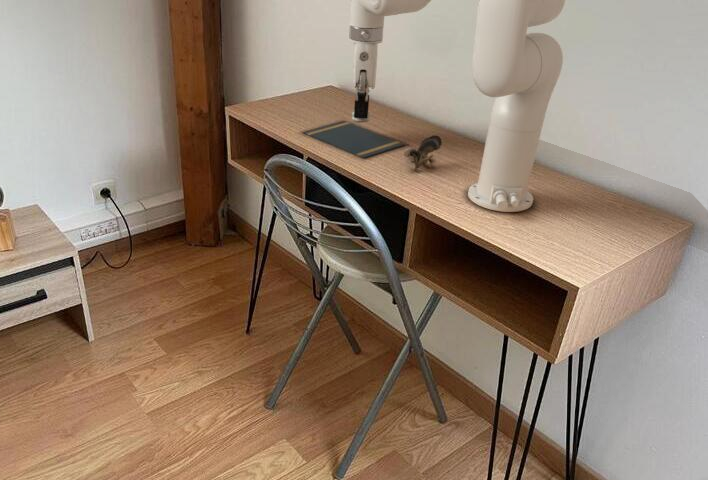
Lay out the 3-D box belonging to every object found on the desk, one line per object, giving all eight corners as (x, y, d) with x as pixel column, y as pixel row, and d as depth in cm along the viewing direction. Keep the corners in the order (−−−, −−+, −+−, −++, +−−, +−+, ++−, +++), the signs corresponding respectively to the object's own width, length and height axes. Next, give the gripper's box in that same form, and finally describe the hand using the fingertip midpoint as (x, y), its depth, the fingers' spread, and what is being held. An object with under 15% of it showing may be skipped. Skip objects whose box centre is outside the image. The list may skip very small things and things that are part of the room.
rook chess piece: (370, 123, 151) (373, 89, 147) (351, 122, 151) (353, 89, 147) (369, 117, 155) (371, 84, 151) (350, 117, 155) (352, 84, 151)
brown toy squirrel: (441, 170, 137) (449, 149, 143) (425, 143, 134) (434, 123, 140) (410, 182, 141) (419, 161, 147) (394, 156, 138) (404, 136, 144)
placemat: (404, 145, 153) (404, 143, 152) (364, 158, 145) (364, 157, 145) (343, 121, 166) (343, 120, 166) (303, 133, 158) (303, 131, 158)
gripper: (382, 42, 135) (376, 126, 145) (383, 27, 150) (377, 105, 159) (347, 41, 136) (343, 124, 146) (351, 26, 150) (347, 104, 160)
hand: (361, 113), depth 152 cm, fingers closed on rook chess piece, 4 cm apart
